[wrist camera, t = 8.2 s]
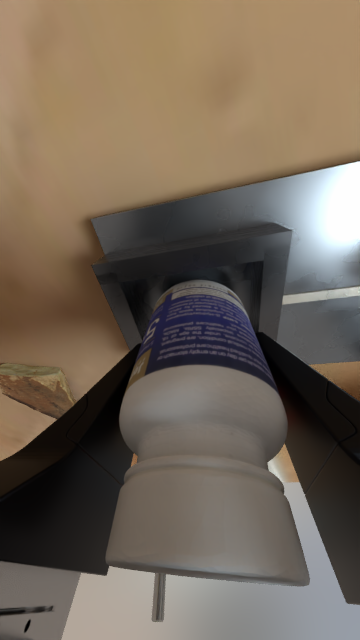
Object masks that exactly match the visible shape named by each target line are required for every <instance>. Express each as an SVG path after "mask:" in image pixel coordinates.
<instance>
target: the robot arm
mask: <svg viewBox="0 0 360 640" xmlns="http://www.w3.org/2000/svg"><path fill="white" fill-rule="evenodd" d="M255 335H256V338H257V340H258V342H259V345H260V347H261V350H262V352H263V355H264V357H265V360H266V362H267V365H268V367H269V369H270V372H271V374H272V377H273V379H274V382H275V384H276V387H277V389H278V392H279V394H280V397H281V400H282V403H283V406H284V408H285V412H286V415H287V420H288V431H287V437H286V440H285V445H286V448H287V450H288V453H289V455H290V458H291V461H292V463H293V466H294V468H295V471H296V473H297V476H298V479H299V481H300V484H301V486H302V489H303V492H304V494H306V495H305V497H306V499H307V502H308V505H309V507H310V510H311V513H312V515H313V518H314V520H315V523H316V526H317V528H318V531H319V533H320V536H321V538H322V541H323V544H324V546H325V549H326V552H327V554H328V557H329V559H330V562H331V565H332V567H333V570H334V572H335V575H336V577H337V580H338V583H339V585H340V588H341V590H342V593H343V595H344V598H345V600H346V602H347V603H348V604H357V605H360V401H358V400H357V399H355V398H354V397H352V396H351V395H349V394H348V393H346V392H345V391H344V390H342V389H341V388H339V387H338V386H337V385H335V384H334V383H332V382H331V381H328V379H327V378H325V377H324V376H323V375H321V374H320V373H319V372H317V371H316V370H314V369H313V368H312V367H310V366H309V365H308V364H306V363H305V362H303V361H302V360H301V359H299V358H298V357H297V356H295V355H294V354H292V353H291V352H290V351H288V350H287V349H286V348H284V347H283V346H281V345H280V344H279V343H277V342H276V341H275V340H273V339H272V338H270V337H269V336H268V335H266V334H265V333H264V332H255ZM141 344H142V343H139V344H137V345H136V346H135V347H134V348H133V349H132V350H131V351H130V352H129V353H128V354H127V355H126V356H125V357H124V358H123V359H121V360H120V361H119V362H118V363H117V364H116V365H115V366H114V367H113V368H112V369H111V370H110V371H109V372H108V373H107V374H106V375H105V376H104V377H103V378H102V379H101V380H100V381H99V382H98V383H96V384H95V385H94V386H93V387H92V388H91V389H90V390H89V391H88V392H87V394H85V395H84V396H83V397H82V398H81V399H80V400H79V401H78V402H76V403H75V404H74V405H73V406H72V407H71V408H70V409H69V410H68V411H67V412H65V413H64V414H63V415H62V416H61V417H60V418H59V419H57V420H56V421H55V422H54V423H53V424H51V425H50V426H49V427H48V428H47V429H46V430H44V431H43V432H42V433H41V434H40V435H38V436H37V437H36V438H35V439H34V440H32V441H31V442H30V443H29V444H28V445H26V446H25V447H24V448H23V449H21V450H20V451H18V452H17V453H15V454H13V455H12V456H10V457H8V458H6V459H4V460H2V461H0V640H61V638H62V635H63V631H64V628H65V625H66V621H67V618H68V615H69V611H70V608H71V604H72V601H73V597H74V594H75V591H76V588H77V585H78V581H79V578H80V574H81V573H87V574H96V575H104V576H105V575H107V572H108V568H109V565H108V564H107V563H106V551H107V547H108V542H109V538H110V533H111V529H112V524H113V520H114V515H115V511H116V506H117V502H118V497H119V492H120V489H121V487H122V486H123V485H124V476H125V473H126V472H127V470H128V469H129V468H130V467H131V462H132V458H133V453H134V452H133V451H131V450H130V448H129V447H128V446H127V444H126V443H125V441H124V439H123V436H122V433H121V430H120V425H119V415H120V409H121V405H122V401H123V398H124V394H125V391H126V388H127V386H128V383H129V380H130V377H131V374H132V371H133V368H134V365H135V362H136V359H137V356H138V353H139V350H140V347H141Z"/></svg>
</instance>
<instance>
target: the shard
mask: <svg viewBox="0 0 360 640" xmlns="http://www.w3.org/2000/svg"><path fill="white" fill-rule="evenodd" d="M0 388H1V389H2V391H3V393H2V394H4V395H6V396H8V397H9V398H12V399H14V400H16V401H17V402H20V403H22V404H25V405H27V406H28V407H30V408H33V409H34V410H37V411H39V412H41V413H43V414H46V415H48V416H51V417H53V418H56V419H59V418H60V417H61V416H62V415H63V414H64V413H65V412H67V411H68V410H69V409H70V408H71V407H72V406H73V405H74V404H75V403H76V401H75V399H74V398H73V395H72V393H71V390H70V388H69V386H68V384H67V380H66V378H65V374H64V373H63V372H62V370H61V368H52V367H35V366H33V367H32V366H26V365H20V364H10V363H5V364H2V365H0Z"/></svg>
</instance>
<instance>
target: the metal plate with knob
mask: <svg viewBox="0 0 360 640" xmlns="http://www.w3.org/2000/svg"><path fill="white" fill-rule="evenodd" d="M91 221H92V224H93V226H94V229H95V231H96V234H97V236H98V239H99V241H100V244H101V246H102V249H103V251H104V254H105V255H104V256H103V257H102V258H100V259H99V260H98V261H96V262H95V263H94V264H92V265H91V266H92V268H93V270H94V272H95V275H96V277H97V279H98V281H99V283H100V286H101V288H102V290H103V292H104V294H105V297H106V299H107V301H108V303H109V305H110V308H111V310H112V312H113V314H114V316H115V319H116V321H117V323H118V325H119V327H120V330H121V332H122V334H123V336H124V338H125V340H126V343H127V345H128V347H129V349H130V351H131V350H132V349H133V348H134V347H135V346H136V345H137V344H139V343H142V341H143V338H144V336H145V333H146V330H147V327H148V324H149V321H150V318H151V315H152V312H153V310H154V307H155V305H156V303H157V301H158V299H159V298H160V297H161V296H162V294H164V293H165V292H166V291H167V290H168V289H170V288H171V287H173V286H175V285H177V284H179V283H182V282H185V281H190V280H208V281H213V282H217V283H219V284H222V285H224V286H226V287H227V288H229V289H230V290H232V291H233V292H234V293H235V294H236V295H237V296H238V298H239V299H240V301H241V302H242V304H243V306H244V308H245V310H246V313H247V315H248V318H249V320H250V323H251V325H252V328H253V330H254V333H255V332H264V333H265V334H266V335H268V336H269V337H270V338H272V339H273V340H275V341H276V342H277V343H279V344H280V345H281V346H283V347H284V348H286V349H287V350H288V351H290V352H291V353H292V354H294V355H295V356H297V357H298V358H299V359H301V360H302V361H303V362H305V363H306V364H308V365H310V364H324V363H339V362H353V361H360V161H355V162H350V163H346V164H341V165H337V166H332V167H327V168H323V169H318V170H313V171H309V172H304V173H299V174H295V175H290V176H285V177H281V178H276V179H271V180H267V181H262V182H258V183H253V184H248V185H244V186H239V187H234V188H230V189H225V190H220V191H216V192H211V193H206V194H202V195H197V196H192V197H188V198H183V199H178V200H174V201H169V202H165V203H160V204H155V205H151V206H146V207H141V208H137V209H132V210H127V211H123V212H118V213H113V214H109V215H104V216H100V217H96V218H93V219H91Z"/></svg>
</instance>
